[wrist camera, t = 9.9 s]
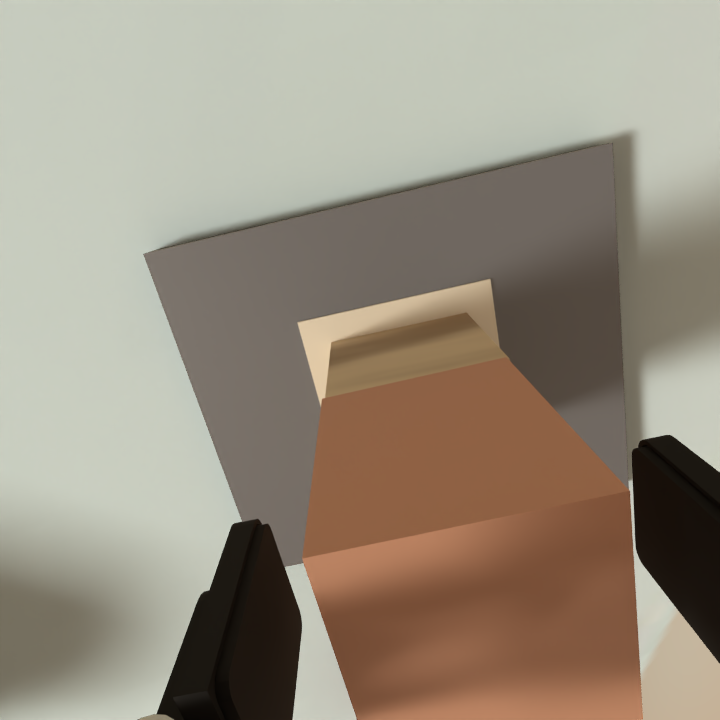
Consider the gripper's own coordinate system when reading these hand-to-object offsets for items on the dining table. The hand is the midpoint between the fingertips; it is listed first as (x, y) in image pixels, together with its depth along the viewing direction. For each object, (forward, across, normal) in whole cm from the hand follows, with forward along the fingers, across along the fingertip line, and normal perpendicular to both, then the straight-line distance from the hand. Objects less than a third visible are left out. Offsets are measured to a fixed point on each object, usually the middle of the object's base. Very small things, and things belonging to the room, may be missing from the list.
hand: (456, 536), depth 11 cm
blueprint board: (+9, 0, 0) cm, 9 cm away
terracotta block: (+3, 0, 0) cm, 3 cm away
